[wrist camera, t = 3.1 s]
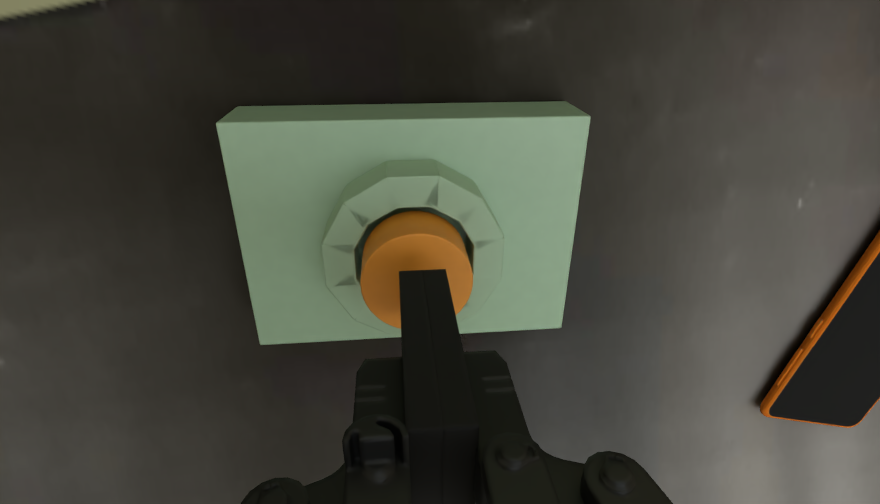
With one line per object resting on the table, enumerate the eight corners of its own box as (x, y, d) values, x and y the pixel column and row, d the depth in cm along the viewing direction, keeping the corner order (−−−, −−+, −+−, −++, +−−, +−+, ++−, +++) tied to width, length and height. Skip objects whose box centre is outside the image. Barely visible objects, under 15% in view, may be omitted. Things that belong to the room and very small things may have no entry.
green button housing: (272, 308, 25) (249, 375, 21) (236, 105, 21) (196, 136, 16) (543, 295, 27) (575, 355, 22) (566, 100, 22) (612, 128, 18)
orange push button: (365, 303, 20) (363, 334, 19) (359, 212, 18) (356, 236, 17) (463, 298, 21) (471, 328, 19) (466, 208, 19) (475, 231, 17)
